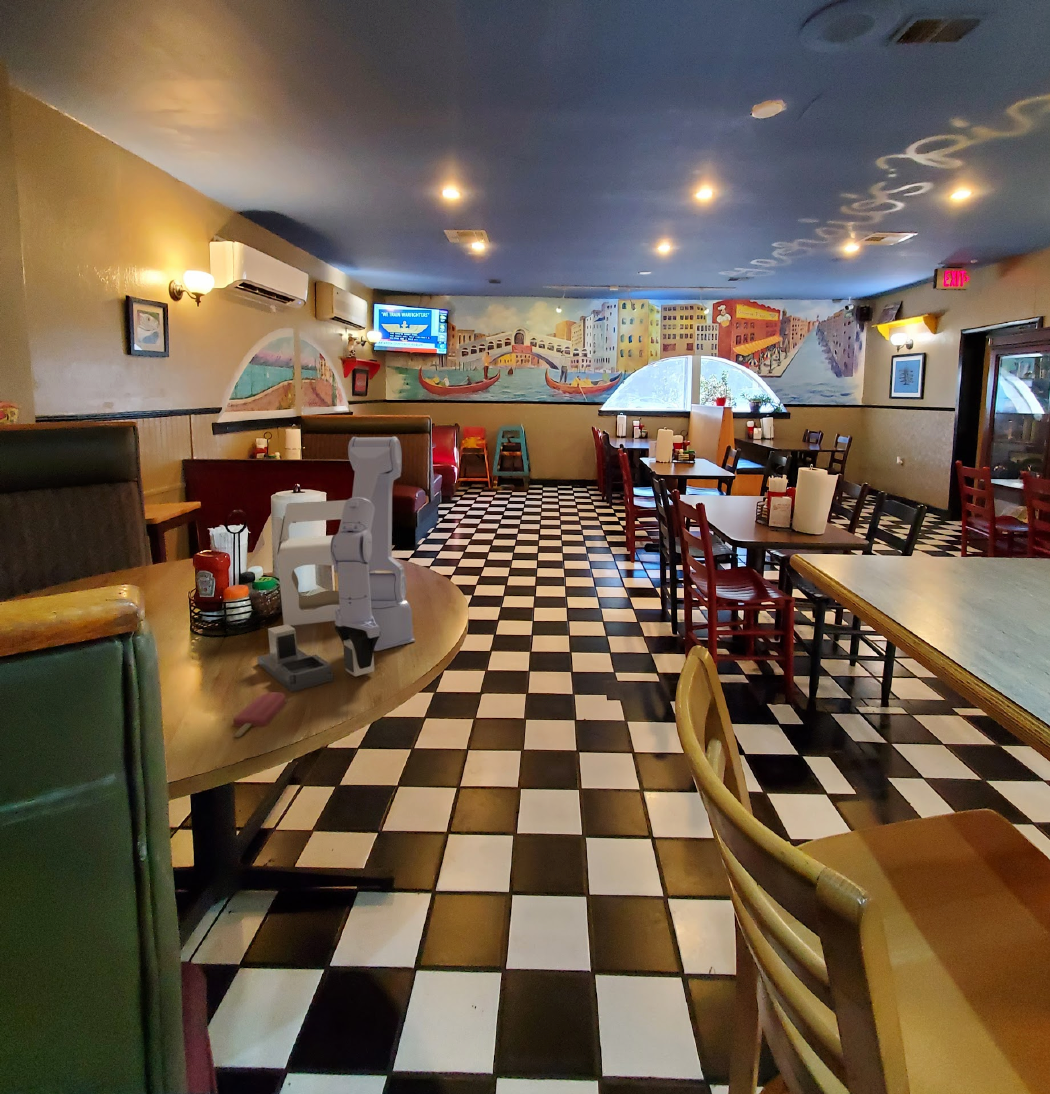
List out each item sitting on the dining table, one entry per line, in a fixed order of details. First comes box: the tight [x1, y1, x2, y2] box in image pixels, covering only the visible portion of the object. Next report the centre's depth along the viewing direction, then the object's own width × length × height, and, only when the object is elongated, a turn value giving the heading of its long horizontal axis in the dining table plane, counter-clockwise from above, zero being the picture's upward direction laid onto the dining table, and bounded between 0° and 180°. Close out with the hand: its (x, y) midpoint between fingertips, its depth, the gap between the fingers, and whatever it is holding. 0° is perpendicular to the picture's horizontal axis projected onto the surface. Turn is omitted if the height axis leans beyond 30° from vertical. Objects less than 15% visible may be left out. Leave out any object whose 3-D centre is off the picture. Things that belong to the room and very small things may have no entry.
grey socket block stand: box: [256, 624, 334, 693], centre depth 132 cm, size 8×18×8 cm, turn 39°
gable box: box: [274, 499, 376, 627], centre depth 167 cm, size 22×13×28 cm, turn 109°
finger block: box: [342, 639, 375, 677], centre depth 130 cm, size 4×4×6 cm
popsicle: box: [233, 691, 287, 738], centre depth 114 cm, size 5×2×15 cm
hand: (359, 663), depth 131 cm, fingers closed on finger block, 4 cm apart
